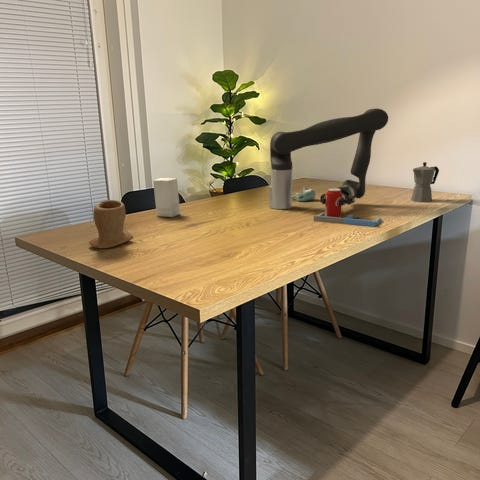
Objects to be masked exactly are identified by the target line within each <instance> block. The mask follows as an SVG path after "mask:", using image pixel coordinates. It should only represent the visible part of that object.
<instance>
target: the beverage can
mask: <svg viewBox="0 0 480 480" xmlns="http://www.w3.org/2000/svg"><path fill="white" fill-rule="evenodd" d="M338 188H339V187H337V188H336V187H335V188H334V187H332V188H331V187H330V188H327V191H326V192H325V194H326V201H325V204H324V212H325V215H324V216H327V217H338V218H342V206H340V205H339V200H340V199H342V192H341V191H340V189H338Z"/></svg>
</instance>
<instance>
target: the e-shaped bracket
mask: <svg viewBox="0 0 480 480" xmlns="http://www.w3.org/2000/svg"><path fill="white" fill-rule="evenodd" d="M313 221H314V222H321V223H332V224H333V223H334V224H343V225H344V224H345V225H351V226H352V225H354V226H362V227H373V228H375V227H377V225H378V224H380V222H382V217H377V219H375V220H369V219H357V218H354V214H347V215H346V216H345V217H340V218H338V217H327V216H325V211H323V212H321V213H319V214H317V215H313Z"/></svg>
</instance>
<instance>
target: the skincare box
mask: <svg viewBox="0 0 480 480" xmlns="http://www.w3.org/2000/svg"><path fill="white" fill-rule="evenodd" d="M152 184H153V190H154V191H153V192H154V202H155V211H156V213H155V214H156V216H157V217H165V218H168V217H169V218H173V217H176V216H179V215H181V211H180V198H179V185H178V178H175V177H174V178H171V177H159V178H157V179H153V180H152Z"/></svg>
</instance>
